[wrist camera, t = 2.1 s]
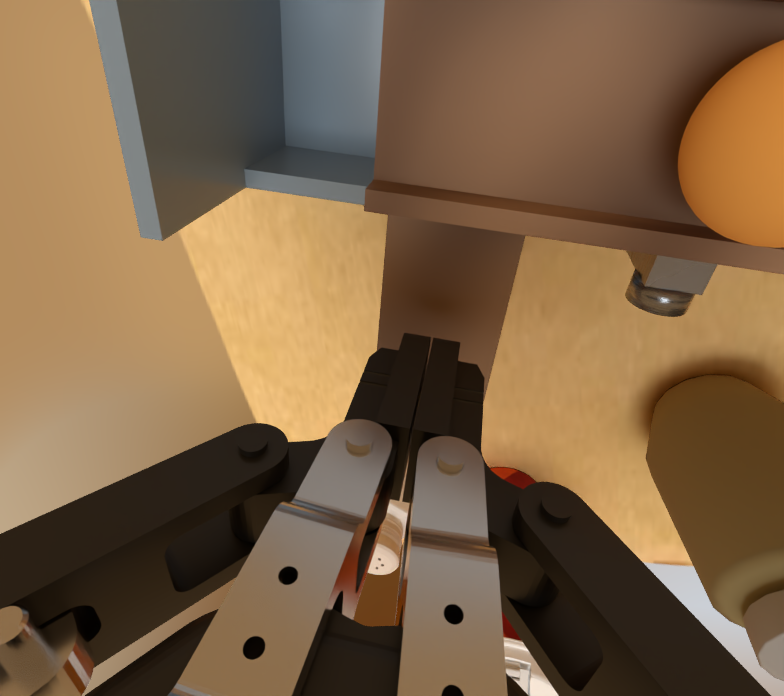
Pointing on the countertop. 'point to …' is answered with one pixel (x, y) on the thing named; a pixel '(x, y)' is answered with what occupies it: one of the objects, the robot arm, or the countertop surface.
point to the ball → (739, 152)
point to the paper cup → (516, 653)
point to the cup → (240, 100)
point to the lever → (540, 144)
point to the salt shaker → (390, 537)
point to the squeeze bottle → (728, 498)
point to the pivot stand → (666, 283)
